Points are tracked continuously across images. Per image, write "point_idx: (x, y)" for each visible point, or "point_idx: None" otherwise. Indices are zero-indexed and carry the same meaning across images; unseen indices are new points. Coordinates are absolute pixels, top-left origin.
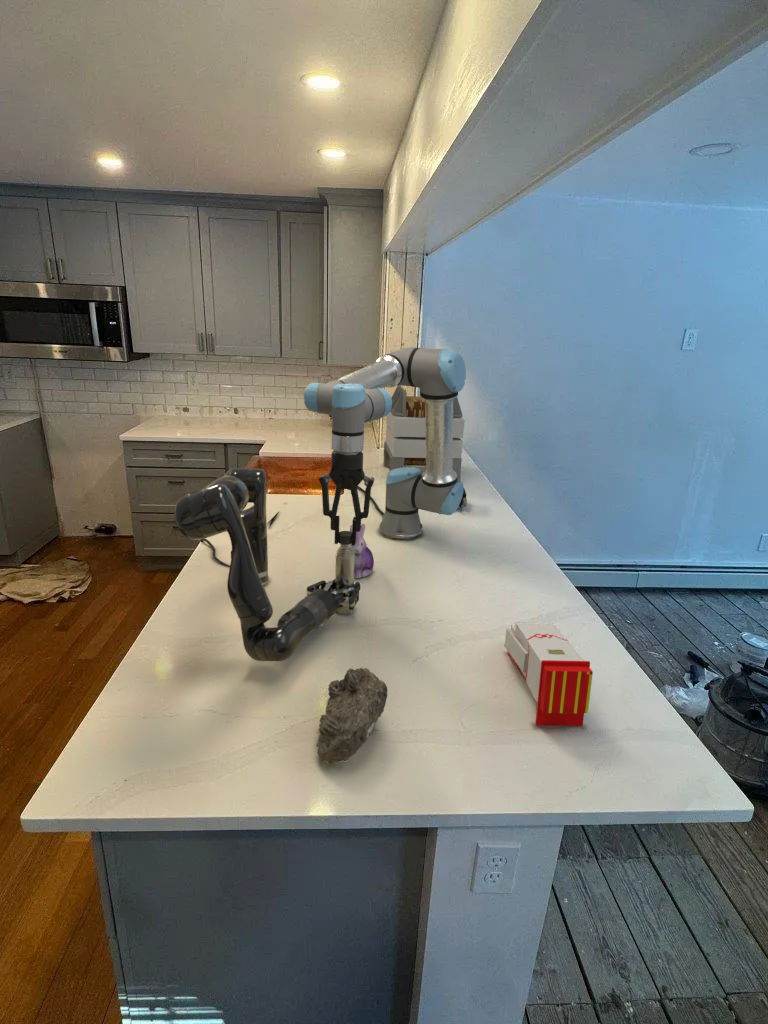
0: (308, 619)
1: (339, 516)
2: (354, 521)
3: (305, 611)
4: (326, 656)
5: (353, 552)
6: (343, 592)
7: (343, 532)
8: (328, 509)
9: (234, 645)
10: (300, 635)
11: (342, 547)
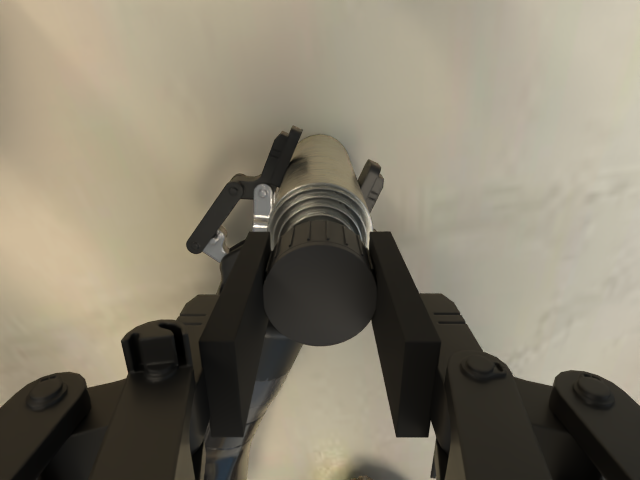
0: (252, 434)
1: (235, 337)
2: (414, 430)
3: None
4: (308, 372)
5: (367, 232)
6: None
7: (300, 284)
8: (65, 443)
9: (92, 359)
10: (247, 456)
11: None
